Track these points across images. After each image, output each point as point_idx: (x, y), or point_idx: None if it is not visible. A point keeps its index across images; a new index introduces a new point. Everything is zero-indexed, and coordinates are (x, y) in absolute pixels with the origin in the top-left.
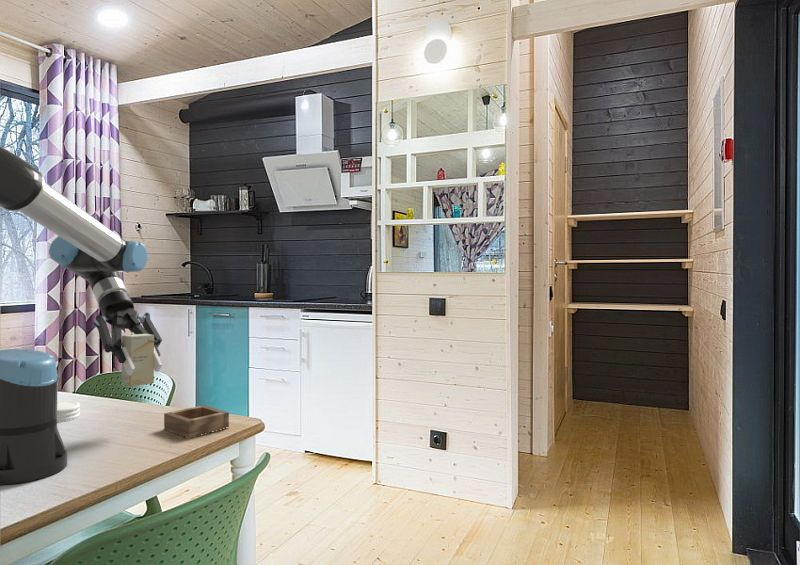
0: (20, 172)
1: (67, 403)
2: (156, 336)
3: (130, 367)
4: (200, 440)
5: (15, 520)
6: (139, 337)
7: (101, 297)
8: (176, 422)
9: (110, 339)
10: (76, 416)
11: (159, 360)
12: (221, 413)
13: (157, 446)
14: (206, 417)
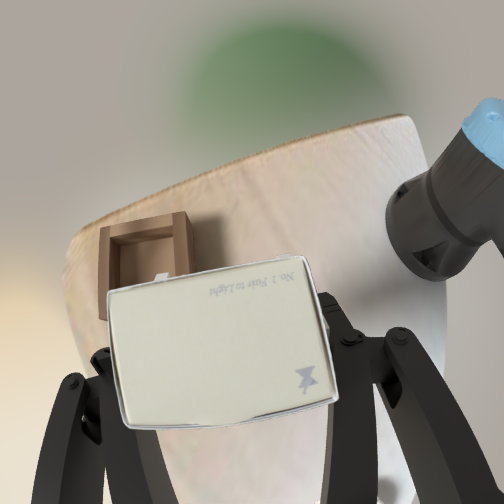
0: None
1: None
2: (71, 406)
3: None
4: (183, 205)
5: (407, 118)
6: (232, 267)
7: None
8: (190, 259)
9: (410, 368)
10: (318, 501)
11: None
12: (112, 228)
13: (253, 216)
14: (146, 218)
